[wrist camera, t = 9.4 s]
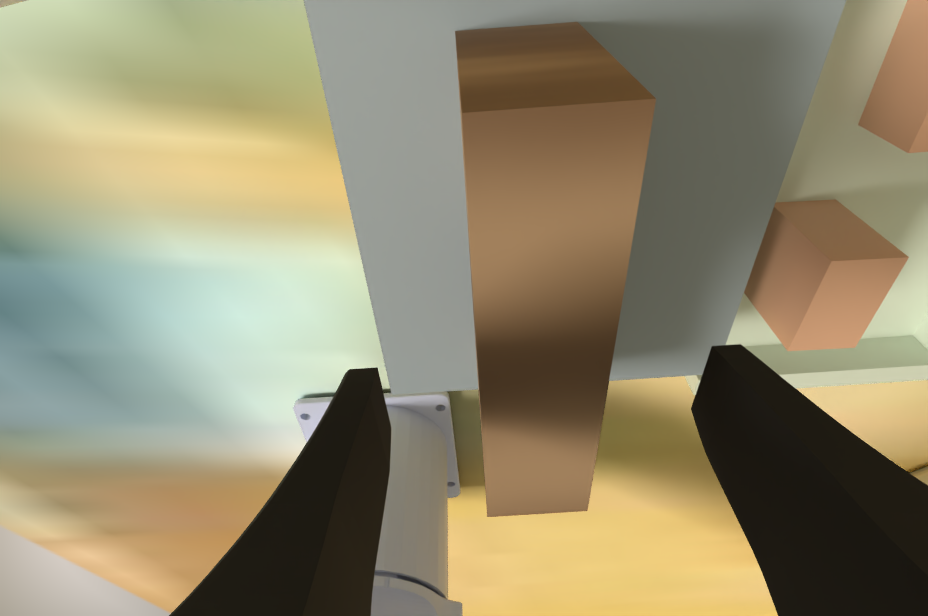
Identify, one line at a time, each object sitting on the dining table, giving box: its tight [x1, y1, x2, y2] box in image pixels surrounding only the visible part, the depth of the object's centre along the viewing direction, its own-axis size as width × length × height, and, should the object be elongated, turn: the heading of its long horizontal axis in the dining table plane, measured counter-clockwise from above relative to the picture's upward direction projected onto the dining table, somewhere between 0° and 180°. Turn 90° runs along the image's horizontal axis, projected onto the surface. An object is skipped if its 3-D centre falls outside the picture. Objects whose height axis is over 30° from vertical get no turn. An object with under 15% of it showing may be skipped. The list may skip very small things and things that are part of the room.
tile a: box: [744, 199, 909, 351], centre depth 19 cm, size 4×4×2 cm
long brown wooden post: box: [455, 22, 656, 517], centre depth 14 cm, size 12×3×6 cm, turn 4°
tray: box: [685, 0, 928, 395], centre depth 18 cm, size 20×12×2 cm, turn 4°
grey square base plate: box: [304, 0, 846, 395], centre depth 18 cm, size 14×13×4 cm
